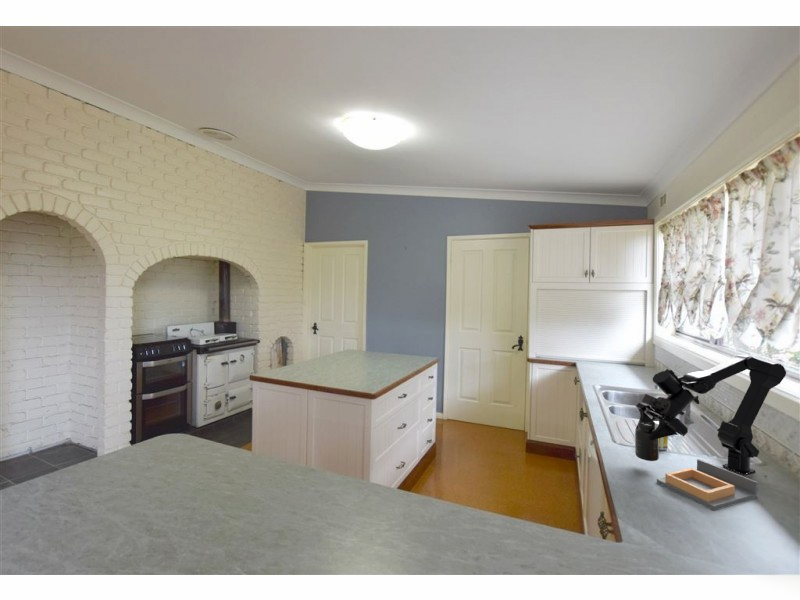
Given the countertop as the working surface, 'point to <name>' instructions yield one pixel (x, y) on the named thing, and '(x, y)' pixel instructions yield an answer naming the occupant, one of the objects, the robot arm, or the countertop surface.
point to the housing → (710, 485)
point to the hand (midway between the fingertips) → (642, 435)
